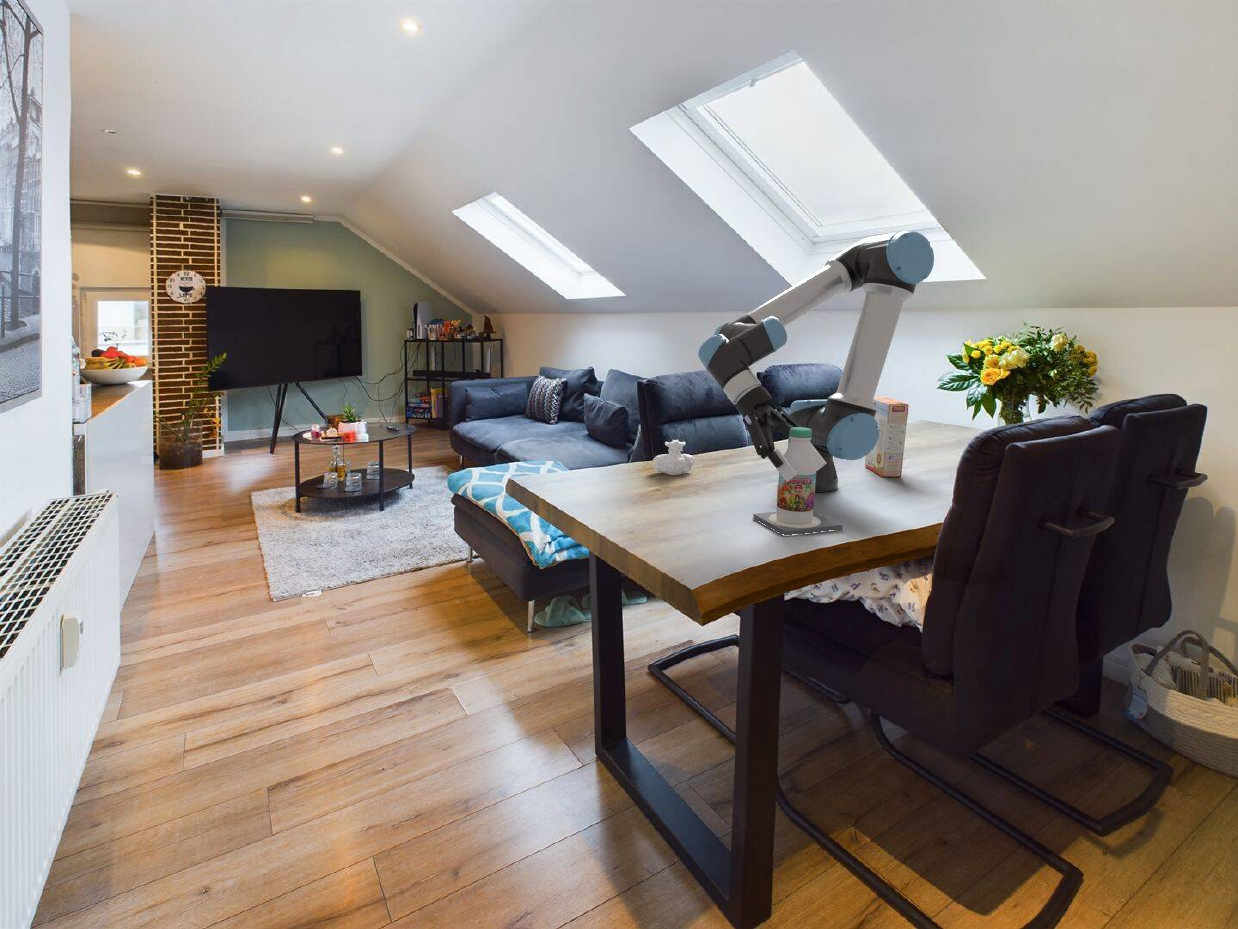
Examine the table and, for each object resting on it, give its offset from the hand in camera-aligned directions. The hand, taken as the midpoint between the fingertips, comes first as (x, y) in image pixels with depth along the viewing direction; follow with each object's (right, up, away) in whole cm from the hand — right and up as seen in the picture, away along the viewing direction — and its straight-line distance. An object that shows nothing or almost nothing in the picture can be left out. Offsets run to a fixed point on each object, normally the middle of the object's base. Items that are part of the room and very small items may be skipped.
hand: (807, 472), depth 143 cm
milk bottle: (-2, -10, +4) cm, 11 cm away
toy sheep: (-24, -1, +50) cm, 56 cm away
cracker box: (+37, -1, +54) cm, 65 cm away
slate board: (-1, -11, +5) cm, 12 cm away
